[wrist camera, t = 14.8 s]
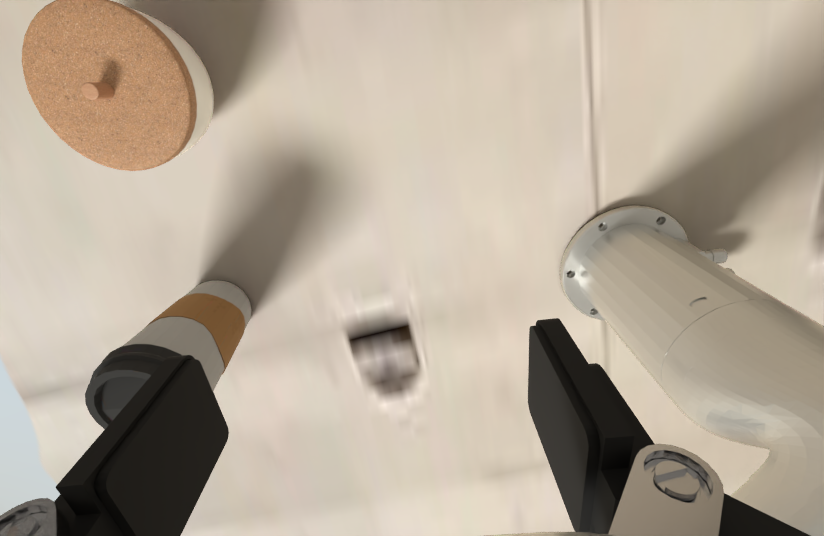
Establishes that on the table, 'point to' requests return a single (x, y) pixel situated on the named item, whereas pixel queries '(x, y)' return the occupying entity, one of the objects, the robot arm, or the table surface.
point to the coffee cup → (172, 345)
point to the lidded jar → (116, 83)
